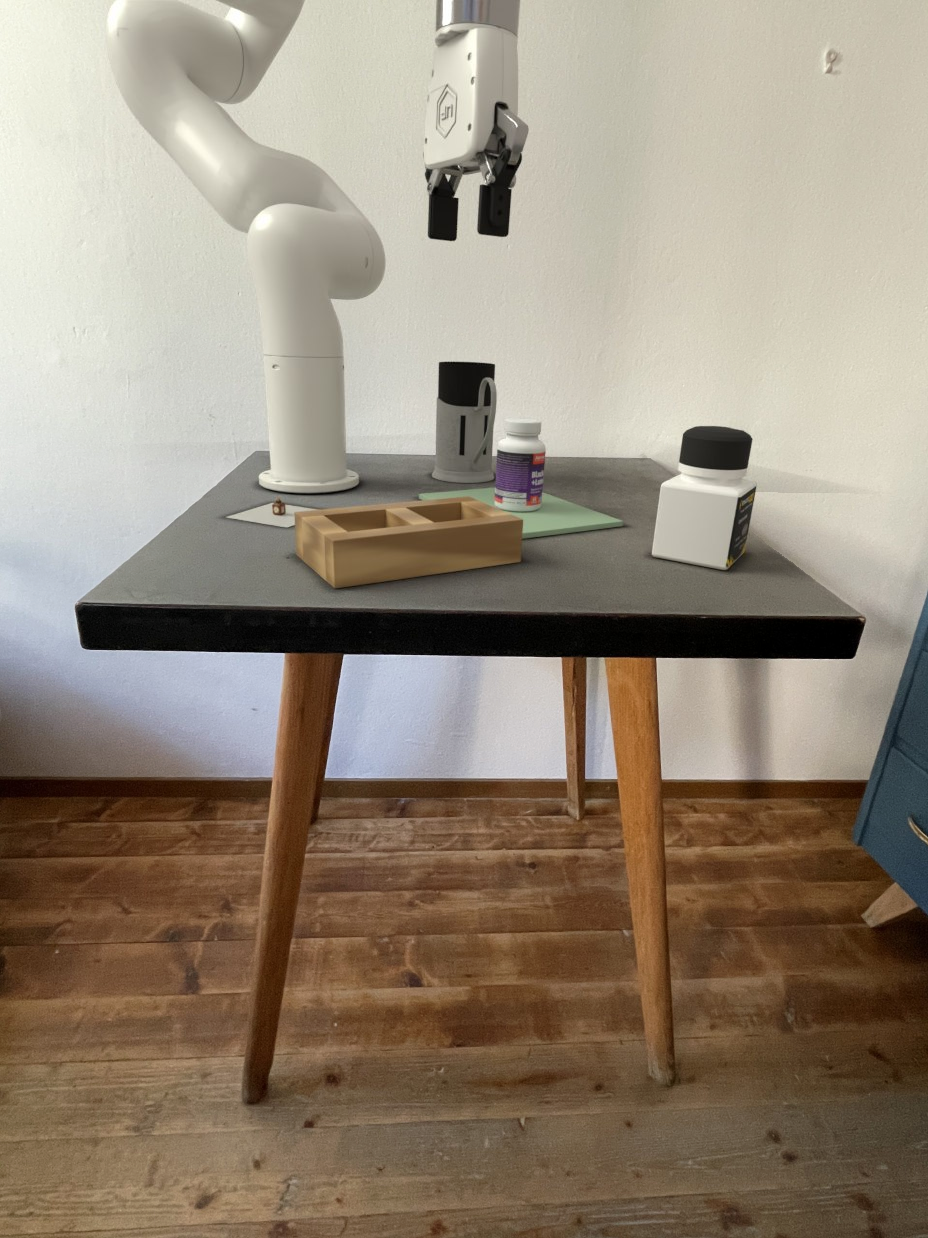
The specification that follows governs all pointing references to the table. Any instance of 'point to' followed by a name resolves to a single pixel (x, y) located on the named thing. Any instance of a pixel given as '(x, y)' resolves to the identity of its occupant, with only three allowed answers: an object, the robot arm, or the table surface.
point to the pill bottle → (520, 466)
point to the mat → (541, 513)
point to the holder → (405, 540)
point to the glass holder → (465, 422)
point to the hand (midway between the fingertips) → (466, 237)
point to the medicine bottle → (707, 500)
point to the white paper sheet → (271, 514)
